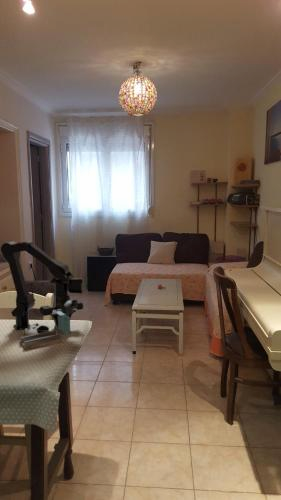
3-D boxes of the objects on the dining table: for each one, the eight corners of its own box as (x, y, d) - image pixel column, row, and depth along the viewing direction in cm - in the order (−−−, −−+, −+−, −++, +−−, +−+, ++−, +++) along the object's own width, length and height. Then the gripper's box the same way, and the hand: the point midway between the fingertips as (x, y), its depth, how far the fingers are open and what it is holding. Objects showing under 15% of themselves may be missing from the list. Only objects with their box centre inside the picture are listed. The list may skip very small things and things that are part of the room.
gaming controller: (38, 337, 154) (27, 325, 154) (29, 346, 155) (18, 334, 156) (50, 328, 165) (40, 316, 165) (42, 336, 166) (31, 325, 167)
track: (19, 342, 150) (19, 336, 150) (54, 335, 159) (54, 328, 158) (26, 350, 143) (25, 343, 142) (62, 342, 151) (62, 335, 151)
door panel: (54, 326, 170) (54, 311, 169) (59, 325, 171) (59, 310, 170) (65, 334, 160) (64, 318, 159) (70, 333, 161) (69, 317, 160)
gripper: (47, 300, 151) (48, 336, 153) (88, 293, 161) (89, 327, 164) (38, 294, 160) (39, 328, 162) (77, 288, 171) (78, 320, 173)
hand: (62, 326), depth 165 cm, fingers open, 4 cm apart
